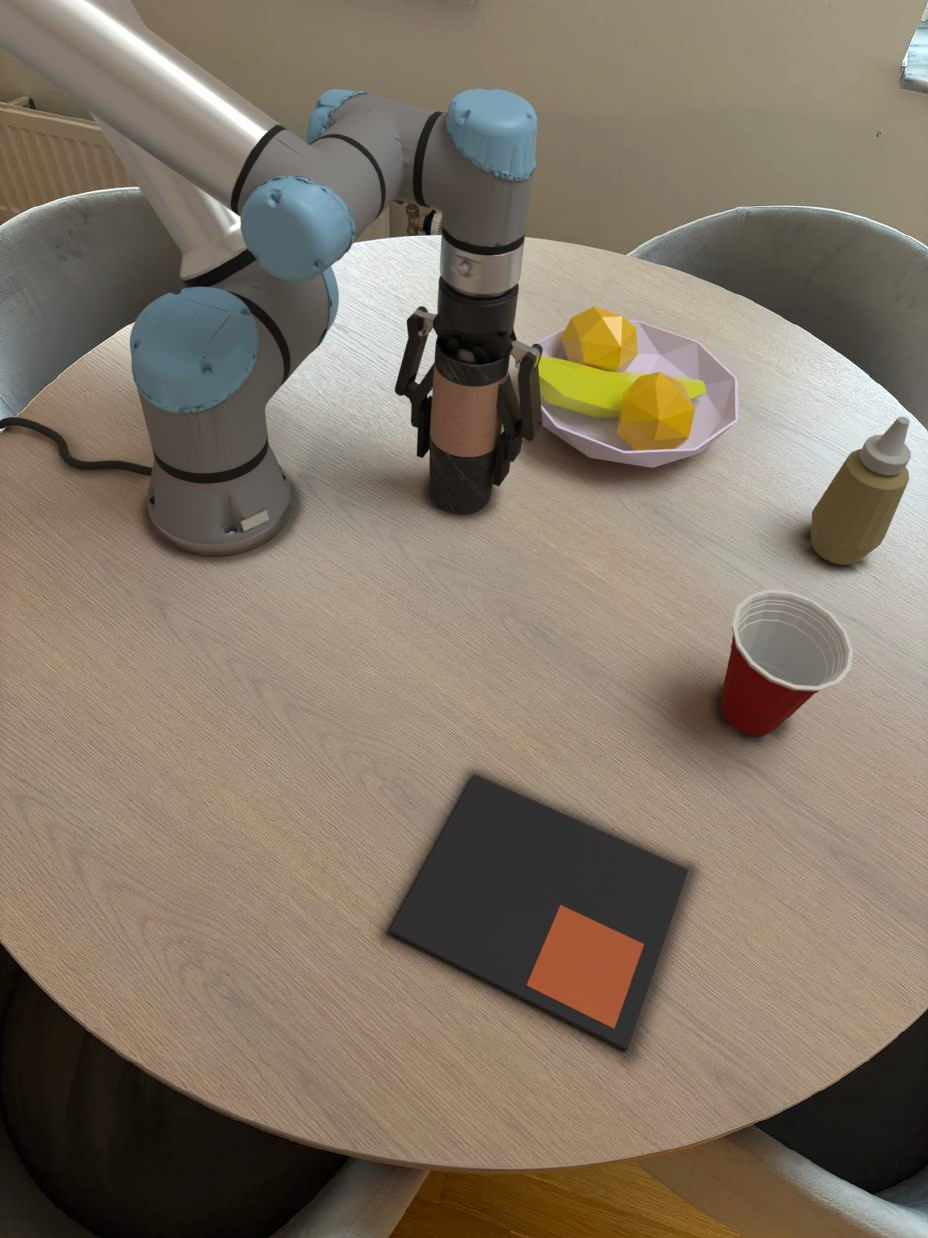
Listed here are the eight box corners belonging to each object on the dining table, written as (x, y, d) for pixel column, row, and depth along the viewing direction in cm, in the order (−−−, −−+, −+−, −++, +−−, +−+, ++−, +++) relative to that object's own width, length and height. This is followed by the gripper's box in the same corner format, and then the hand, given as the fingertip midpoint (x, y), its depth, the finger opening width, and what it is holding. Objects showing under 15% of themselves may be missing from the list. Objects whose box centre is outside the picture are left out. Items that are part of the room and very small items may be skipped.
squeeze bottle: (877, 537, 109) (949, 410, 95) (865, 583, 104) (940, 457, 90) (807, 513, 111) (869, 385, 97) (793, 557, 106) (855, 429, 92)
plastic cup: (786, 781, 87) (835, 706, 78) (679, 724, 90) (713, 646, 81) (823, 700, 93) (872, 623, 84) (721, 650, 96) (757, 570, 87)
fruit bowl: (724, 373, 127) (749, 298, 119) (724, 510, 110) (754, 433, 101) (518, 340, 129) (528, 263, 120) (487, 469, 112) (496, 390, 103)
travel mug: (486, 522, 106) (504, 372, 91) (419, 509, 106) (426, 358, 91) (498, 477, 111) (518, 328, 95) (434, 465, 111) (443, 315, 96)
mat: (389, 933, 75) (389, 930, 75) (473, 777, 85) (474, 773, 84) (626, 1051, 71) (628, 1049, 70) (686, 872, 80) (688, 869, 80)
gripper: (358, 263, 88) (361, 451, 105) (572, 332, 83) (538, 517, 101) (395, 228, 93) (393, 414, 110) (600, 292, 88) (564, 476, 105)
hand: (462, 463), depth 105 cm, fingers open, 9 cm apart
